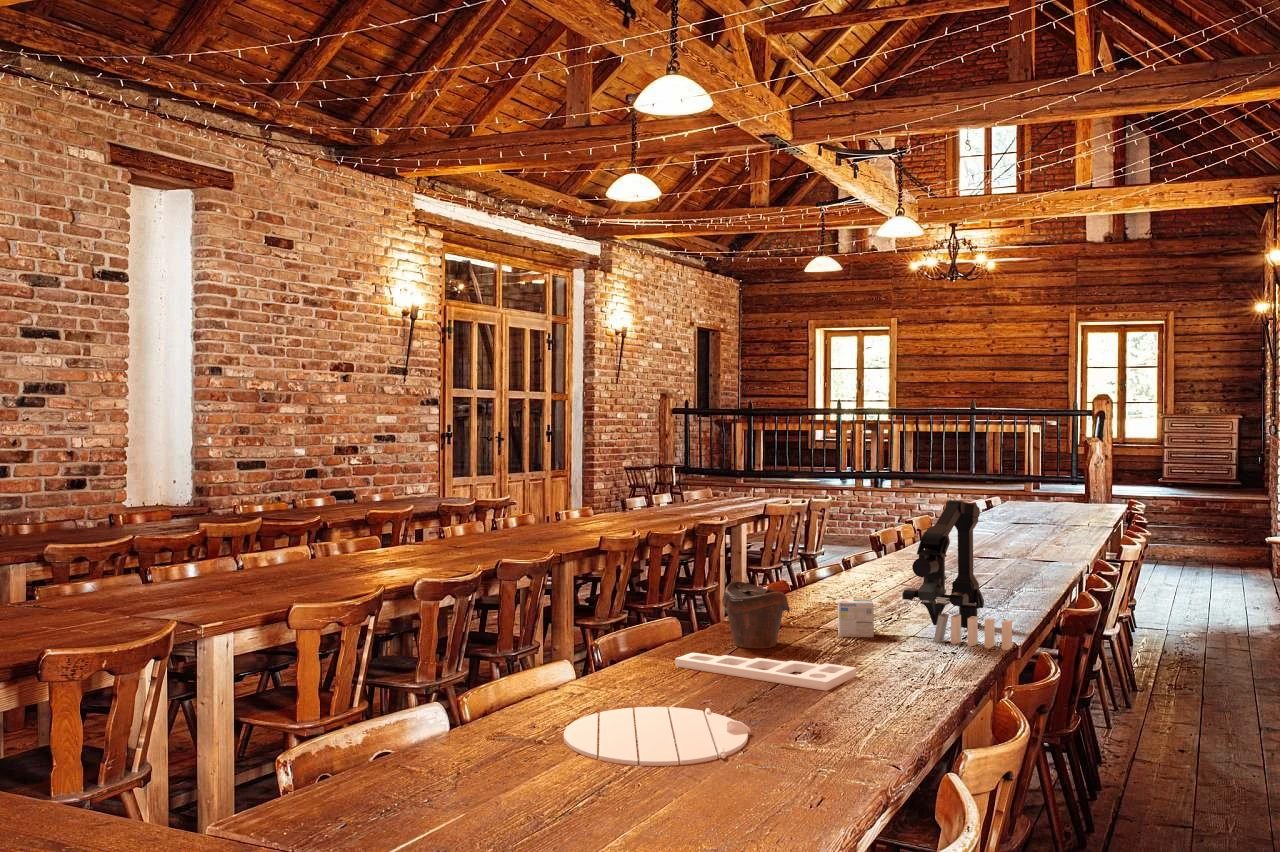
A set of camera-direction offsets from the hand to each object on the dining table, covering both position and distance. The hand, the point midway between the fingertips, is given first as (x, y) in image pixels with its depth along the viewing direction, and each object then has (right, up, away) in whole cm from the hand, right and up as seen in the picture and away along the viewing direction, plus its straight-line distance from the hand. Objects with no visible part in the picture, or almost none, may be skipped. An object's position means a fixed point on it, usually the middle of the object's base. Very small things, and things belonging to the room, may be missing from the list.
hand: (935, 624), depth 325 cm
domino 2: (+5, -5, -4) cm, 8 cm away
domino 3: (+9, -5, -6) cm, 12 cm away
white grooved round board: (-85, -7, -95) cm, 128 cm away
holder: (-56, -6, -38) cm, 68 cm away
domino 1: (+1, -4, -2) cm, 5 cm away
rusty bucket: (-55, -5, -6) cm, 55 cm away
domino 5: (+18, -5, -12) cm, 22 cm away
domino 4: (+13, -5, -9) cm, 17 cm away
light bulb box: (-23, -5, +7) cm, 24 cm away
